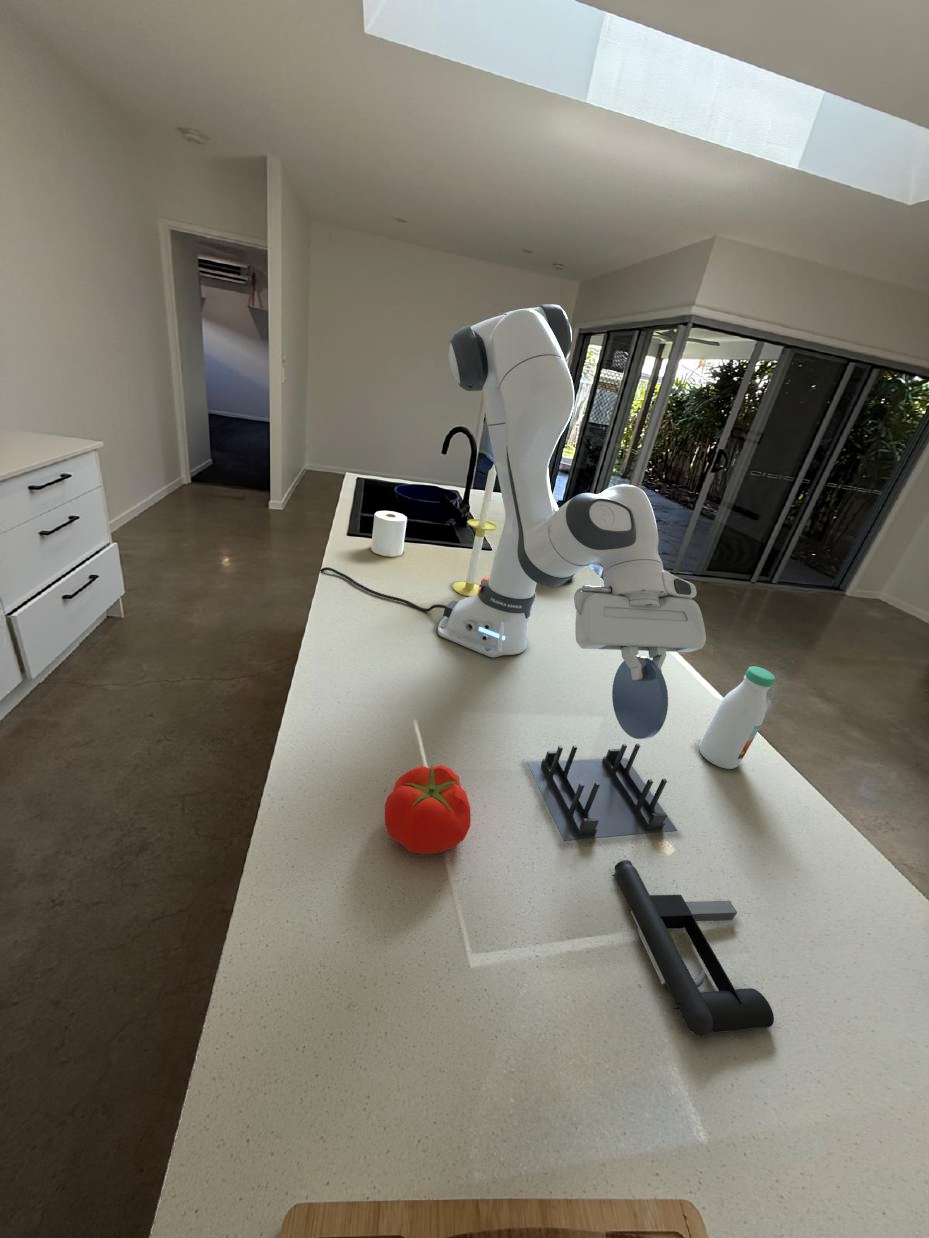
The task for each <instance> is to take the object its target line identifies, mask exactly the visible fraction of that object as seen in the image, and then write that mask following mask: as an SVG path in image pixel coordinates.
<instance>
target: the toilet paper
mask: <svg viewBox="0 0 929 1238" xmlns="http://www.w3.org/2000/svg"><path fill="white" fill-rule="evenodd" d="M407 523H408V517H407V516H406V515H405V514H403V513H400V512H396V511H393V510H391V511H390V510H378V511H376V512H375V513H374V516H373V523H372V524H373V527H372V535H371V544H370V545H371V546H370V551H372V552H373V553H374V554H375V555H376V554H377V555H379V556H383V557H391V558H392V557H393V558H395V557H399V556H402V555H403V552H404V545H405V544H404V543H405V537H406V528H407Z"/></svg>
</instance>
